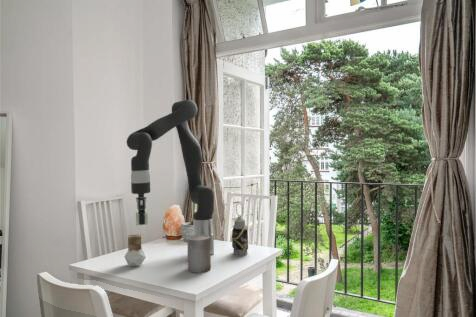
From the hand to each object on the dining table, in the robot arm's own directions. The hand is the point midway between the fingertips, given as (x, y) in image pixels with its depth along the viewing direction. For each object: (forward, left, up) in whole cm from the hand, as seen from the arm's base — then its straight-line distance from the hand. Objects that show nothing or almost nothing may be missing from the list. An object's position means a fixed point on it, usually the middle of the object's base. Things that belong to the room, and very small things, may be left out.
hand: (142, 222), depth 144 cm
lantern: (-46, -15, -21) cm, 53 cm away
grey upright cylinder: (-23, +2, -21) cm, 31 cm away
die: (+3, -13, -21) cm, 25 cm away
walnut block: (+3, -13, -13) cm, 19 cm away
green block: (0, 0, -1) cm, 1 cm away
